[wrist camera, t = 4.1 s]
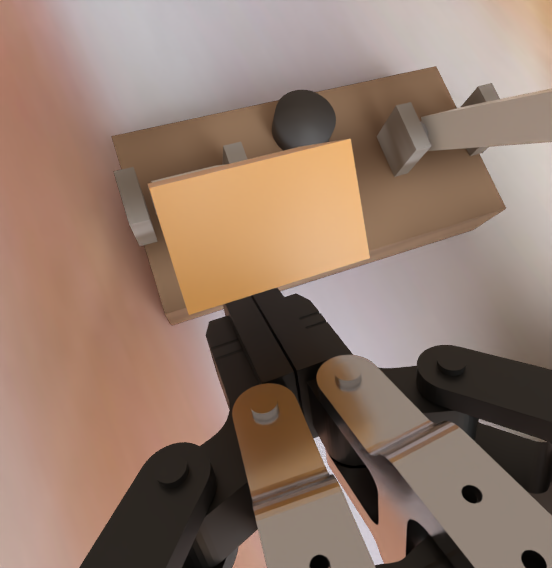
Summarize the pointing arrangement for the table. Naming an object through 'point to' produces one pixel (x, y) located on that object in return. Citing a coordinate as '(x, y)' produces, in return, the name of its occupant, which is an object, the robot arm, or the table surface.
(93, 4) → the table surface
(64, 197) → the table surface
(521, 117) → the lever ivory
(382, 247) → the console
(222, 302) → the lever orange
